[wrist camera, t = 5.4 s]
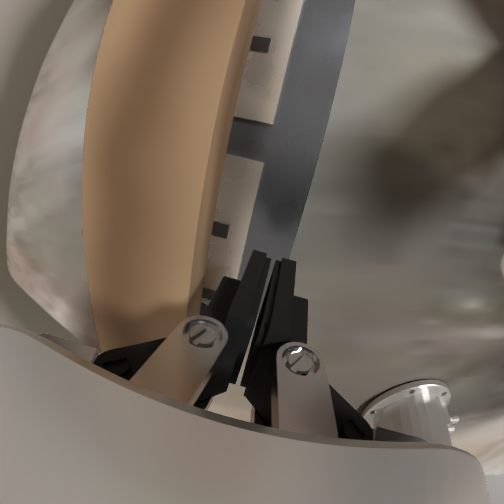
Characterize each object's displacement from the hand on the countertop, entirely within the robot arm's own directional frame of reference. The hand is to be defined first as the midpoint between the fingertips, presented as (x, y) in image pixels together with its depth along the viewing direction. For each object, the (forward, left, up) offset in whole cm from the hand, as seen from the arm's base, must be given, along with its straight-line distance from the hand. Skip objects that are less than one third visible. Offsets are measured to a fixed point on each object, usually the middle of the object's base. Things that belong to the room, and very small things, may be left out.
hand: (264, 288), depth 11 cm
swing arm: (+5, -1, -1) cm, 5 cm away
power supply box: (+5, -5, -11) cm, 13 cm away
